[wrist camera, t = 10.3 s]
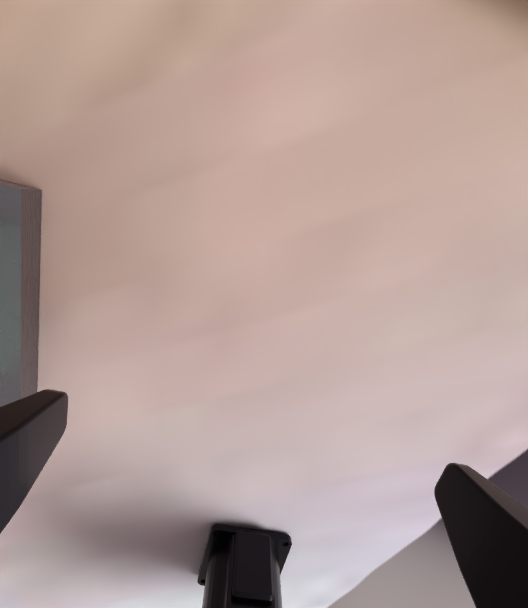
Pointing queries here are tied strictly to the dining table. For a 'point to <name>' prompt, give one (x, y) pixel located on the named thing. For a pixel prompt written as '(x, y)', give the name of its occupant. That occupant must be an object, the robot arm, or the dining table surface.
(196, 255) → the dining table surface
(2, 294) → the base plate
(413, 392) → the dining table surface
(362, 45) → the dining table surface
